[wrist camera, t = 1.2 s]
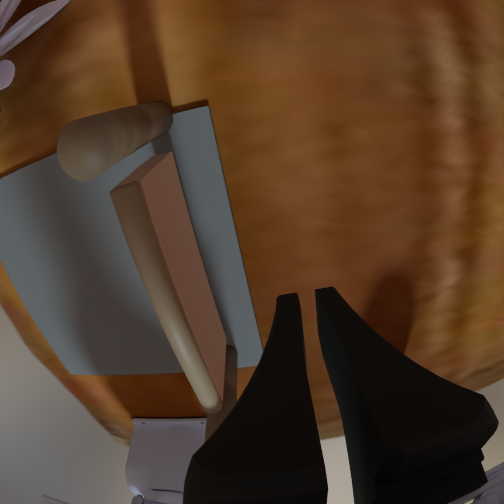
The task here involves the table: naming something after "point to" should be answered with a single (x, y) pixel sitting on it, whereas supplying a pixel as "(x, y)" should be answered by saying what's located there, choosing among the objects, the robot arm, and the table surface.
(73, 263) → the mat
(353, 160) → the table surface
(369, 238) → the table surface
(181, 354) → the brown rimmed panel
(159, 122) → the brown wooden posts
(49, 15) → the water lily
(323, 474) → the robot arm
